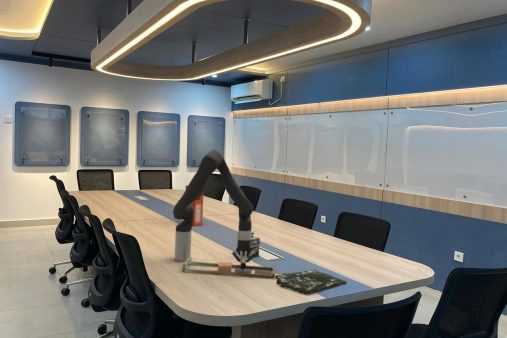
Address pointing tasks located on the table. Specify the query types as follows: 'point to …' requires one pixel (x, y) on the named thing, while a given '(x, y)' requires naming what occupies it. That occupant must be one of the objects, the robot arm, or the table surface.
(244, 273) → the lane
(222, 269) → the block
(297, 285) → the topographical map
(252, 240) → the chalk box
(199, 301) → the table surface
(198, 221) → the file binder
